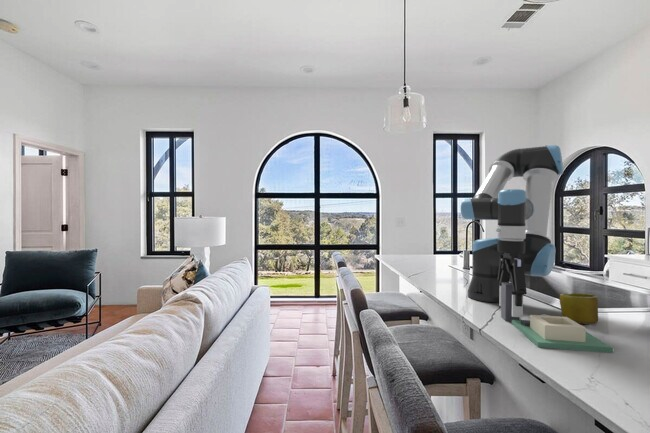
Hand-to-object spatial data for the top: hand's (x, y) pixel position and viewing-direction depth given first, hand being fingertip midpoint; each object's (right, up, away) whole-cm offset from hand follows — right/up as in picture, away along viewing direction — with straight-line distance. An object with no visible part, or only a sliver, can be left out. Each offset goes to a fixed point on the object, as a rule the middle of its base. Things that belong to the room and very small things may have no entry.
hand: (510, 311), depth 104 cm
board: (+4, -3, -15) cm, 15 cm away
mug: (+20, -3, +1) cm, 21 cm away
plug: (0, -3, 0) cm, 3 cm away
